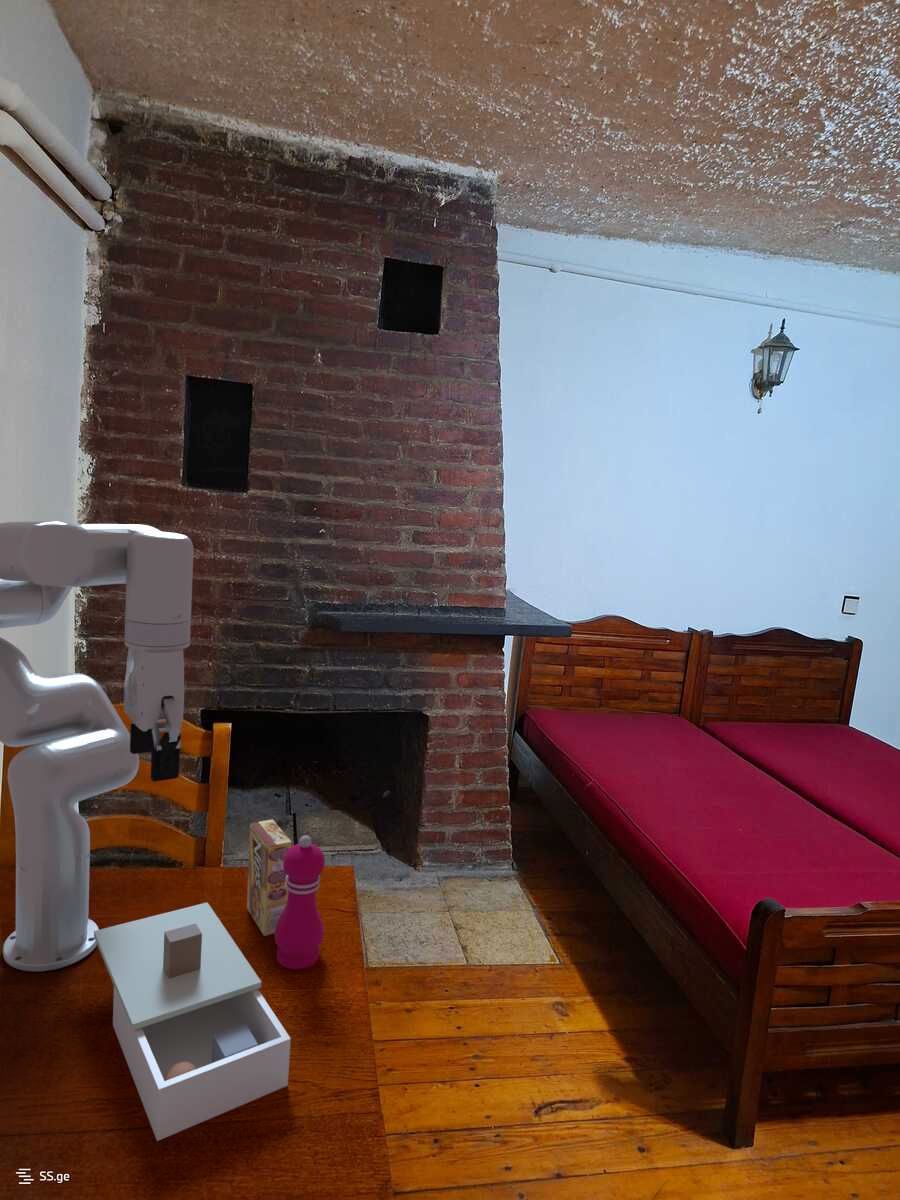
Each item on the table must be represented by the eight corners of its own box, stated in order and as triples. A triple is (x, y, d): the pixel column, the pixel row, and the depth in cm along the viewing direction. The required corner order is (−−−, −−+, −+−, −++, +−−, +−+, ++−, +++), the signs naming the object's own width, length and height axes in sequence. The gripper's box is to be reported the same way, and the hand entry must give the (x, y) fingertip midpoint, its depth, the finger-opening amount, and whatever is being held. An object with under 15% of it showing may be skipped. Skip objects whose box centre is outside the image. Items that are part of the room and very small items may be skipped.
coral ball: (160, 1088, 88) (161, 1061, 88) (191, 1076, 90) (192, 1049, 90) (169, 1110, 85) (170, 1082, 85) (201, 1098, 87) (202, 1070, 87)
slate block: (211, 1064, 92) (213, 1034, 92) (243, 1052, 95) (245, 1023, 94) (223, 1086, 89) (225, 1056, 89) (256, 1073, 92) (257, 1044, 91)
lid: (93, 936, 104) (94, 897, 103) (207, 907, 114) (208, 871, 113) (132, 1030, 88) (133, 985, 87) (261, 987, 97) (263, 945, 96)
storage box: (112, 1030, 97) (114, 980, 96) (227, 992, 106) (229, 946, 105) (156, 1147, 82) (158, 1089, 81) (287, 1091, 91) (290, 1038, 89)
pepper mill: (278, 979, 110) (286, 850, 107) (268, 950, 117) (276, 827, 113) (326, 970, 113) (336, 844, 110) (315, 942, 119) (323, 822, 116)
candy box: (288, 931, 122) (294, 841, 119) (262, 937, 119) (268, 846, 117) (268, 903, 129) (274, 818, 127) (244, 909, 127) (249, 822, 124)
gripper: (109, 619, 98) (106, 746, 101) (145, 650, 85) (140, 796, 87) (168, 618, 103) (164, 739, 105) (212, 647, 89) (205, 785, 92)
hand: (153, 765), depth 96 cm, fingers open, 9 cm apart
